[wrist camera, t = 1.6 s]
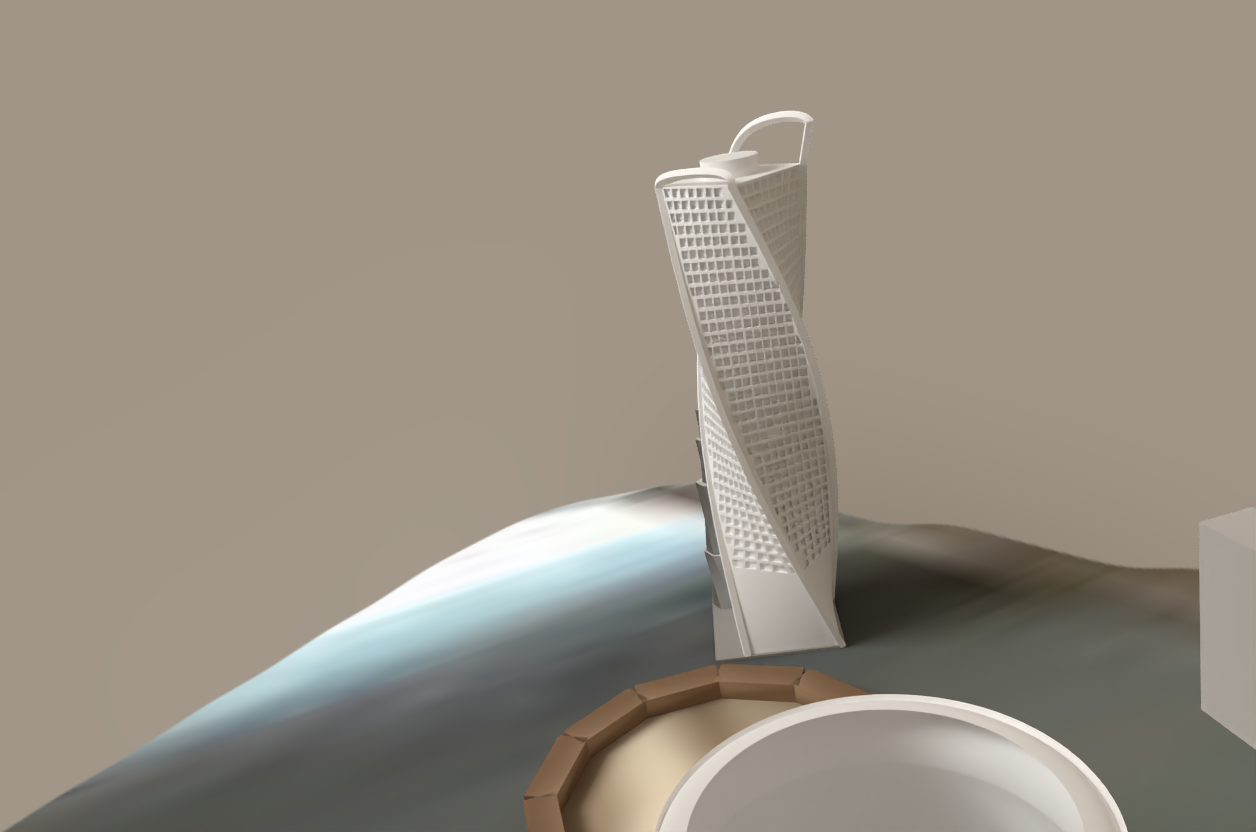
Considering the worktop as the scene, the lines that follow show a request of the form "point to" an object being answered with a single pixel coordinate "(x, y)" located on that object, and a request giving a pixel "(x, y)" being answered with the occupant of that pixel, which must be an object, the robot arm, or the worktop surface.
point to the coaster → (658, 743)
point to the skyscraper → (757, 399)
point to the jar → (890, 774)
